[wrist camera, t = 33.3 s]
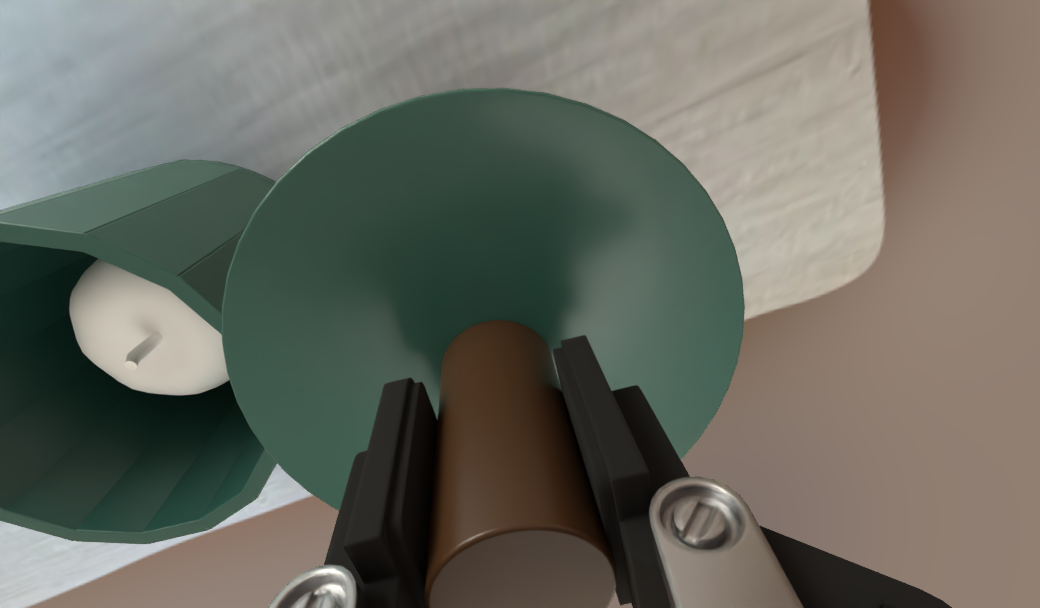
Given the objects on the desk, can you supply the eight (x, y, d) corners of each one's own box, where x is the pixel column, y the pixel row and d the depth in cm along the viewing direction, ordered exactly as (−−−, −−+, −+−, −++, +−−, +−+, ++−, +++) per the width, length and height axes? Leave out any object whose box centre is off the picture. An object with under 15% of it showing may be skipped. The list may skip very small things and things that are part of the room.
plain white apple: (314, 327, 26) (253, 425, 19) (184, 356, 26) (73, 464, 19) (257, 199, 23) (158, 258, 16) (110, 232, 23) (-56, 305, 16)
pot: (175, 402, 28) (21, 573, 18) (37, 194, 22) (-283, 283, 13) (383, 354, 27) (336, 501, 18) (293, 132, 22) (160, 176, 13)
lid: (351, 552, 16) (277, 868, 10) (134, 164, 11) (-385, 308, 4) (728, 460, 16) (903, 715, 10) (714, 23, 11) (1108, -55, 4)
